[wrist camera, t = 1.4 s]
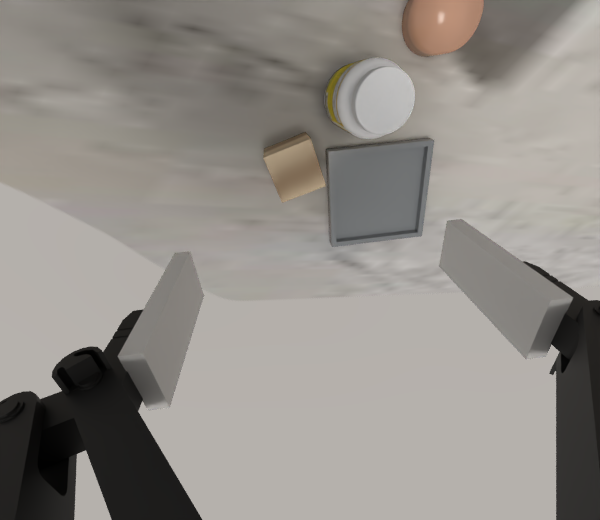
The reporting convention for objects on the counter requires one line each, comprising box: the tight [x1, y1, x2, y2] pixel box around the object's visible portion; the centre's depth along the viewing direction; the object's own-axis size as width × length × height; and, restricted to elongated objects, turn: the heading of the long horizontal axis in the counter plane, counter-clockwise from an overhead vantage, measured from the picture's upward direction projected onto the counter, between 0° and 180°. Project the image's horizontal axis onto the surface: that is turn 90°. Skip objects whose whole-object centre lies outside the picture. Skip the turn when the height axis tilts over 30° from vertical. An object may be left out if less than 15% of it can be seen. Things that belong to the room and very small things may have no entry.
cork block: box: [263, 132, 326, 203], centre depth 33 cm, size 5×5×5 cm
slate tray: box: [326, 138, 434, 247], centre depth 37 cm, size 12×12×2 cm
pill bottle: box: [324, 57, 415, 139], centre depth 28 cm, size 6×6×11 cm
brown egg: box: [402, 0, 484, 57], centre depth 28 cm, size 6×6×4 cm
